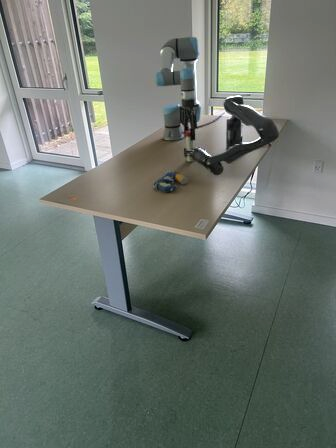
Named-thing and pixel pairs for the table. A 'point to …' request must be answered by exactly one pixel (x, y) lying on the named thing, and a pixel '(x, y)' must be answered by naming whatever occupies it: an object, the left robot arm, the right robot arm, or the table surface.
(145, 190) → the table surface
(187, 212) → the table surface
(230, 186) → the table surface
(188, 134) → the lid
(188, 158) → the bottle
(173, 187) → the spray gun
